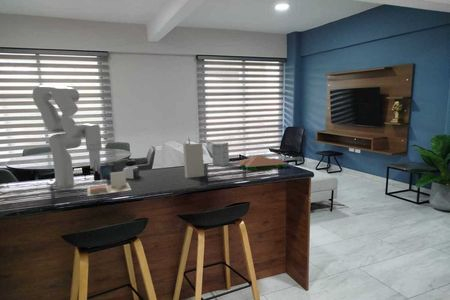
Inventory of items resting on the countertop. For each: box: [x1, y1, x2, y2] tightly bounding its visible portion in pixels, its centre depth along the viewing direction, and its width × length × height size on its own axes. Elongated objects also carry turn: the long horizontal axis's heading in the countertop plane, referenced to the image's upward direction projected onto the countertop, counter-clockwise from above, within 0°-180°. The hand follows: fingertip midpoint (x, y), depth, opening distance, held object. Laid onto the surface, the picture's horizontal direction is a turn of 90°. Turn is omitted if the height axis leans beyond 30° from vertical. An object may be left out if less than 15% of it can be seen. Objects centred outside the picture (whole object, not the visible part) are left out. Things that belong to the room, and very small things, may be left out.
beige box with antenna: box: [182, 137, 205, 179], centre depth 195 cm, size 8×12×26 cm
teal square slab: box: [89, 184, 107, 194], centre depth 164 cm, size 8×2×8 cm
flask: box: [99, 161, 115, 180], centre depth 197 cm, size 9×3×11 cm, turn 109°
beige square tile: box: [109, 170, 127, 187], centre depth 172 cm, size 8×2×8 cm, turn 114°
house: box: [237, 155, 288, 171], centre depth 218 cm, size 23×33×8 cm
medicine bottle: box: [122, 159, 140, 180], centre depth 193 cm, size 7×7×12 cm
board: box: [86, 182, 132, 197], centre depth 167 cm, size 22×18×1 cm
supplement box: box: [211, 141, 230, 167], centre depth 228 cm, size 10×9×17 cm
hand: (97, 180), depth 164 cm, fingers closed
